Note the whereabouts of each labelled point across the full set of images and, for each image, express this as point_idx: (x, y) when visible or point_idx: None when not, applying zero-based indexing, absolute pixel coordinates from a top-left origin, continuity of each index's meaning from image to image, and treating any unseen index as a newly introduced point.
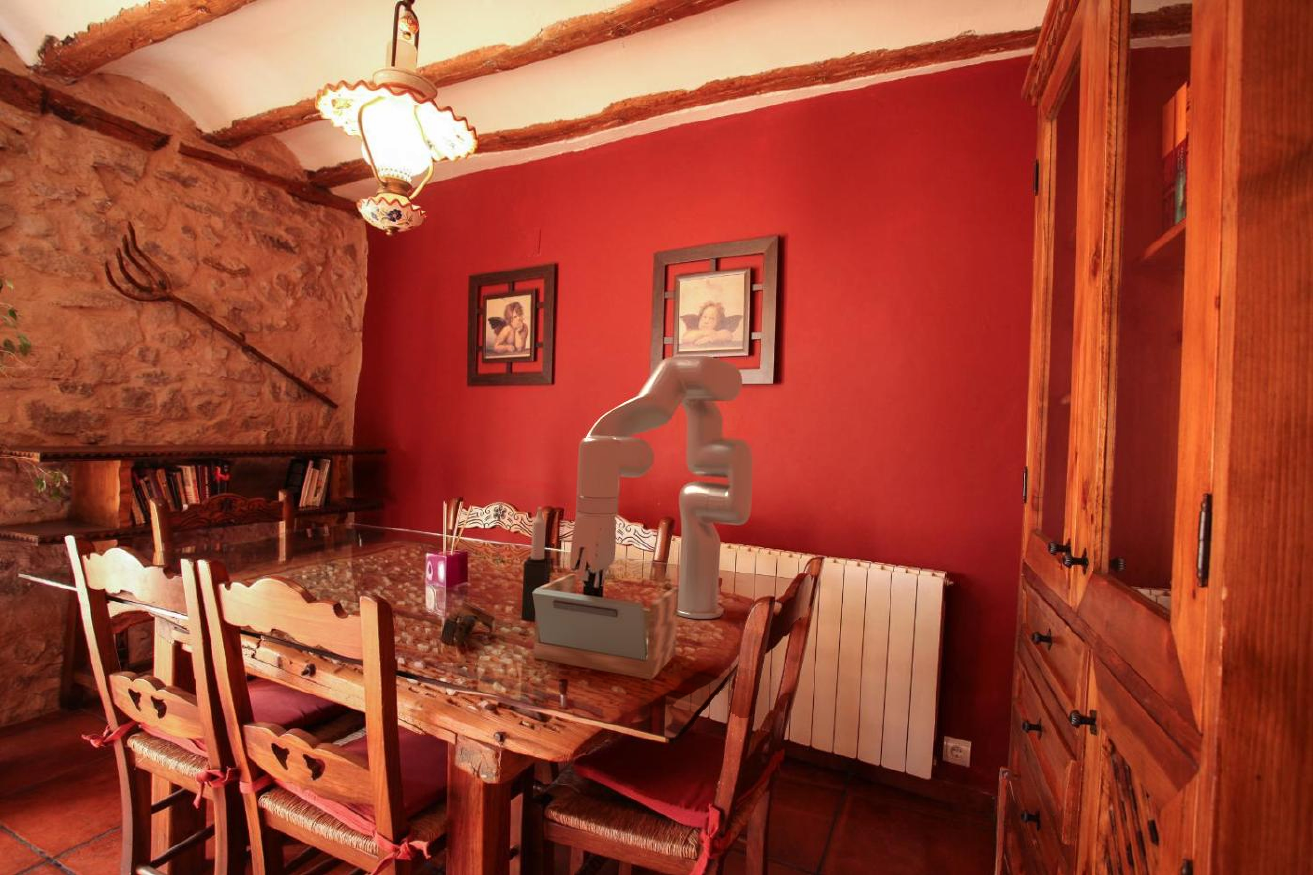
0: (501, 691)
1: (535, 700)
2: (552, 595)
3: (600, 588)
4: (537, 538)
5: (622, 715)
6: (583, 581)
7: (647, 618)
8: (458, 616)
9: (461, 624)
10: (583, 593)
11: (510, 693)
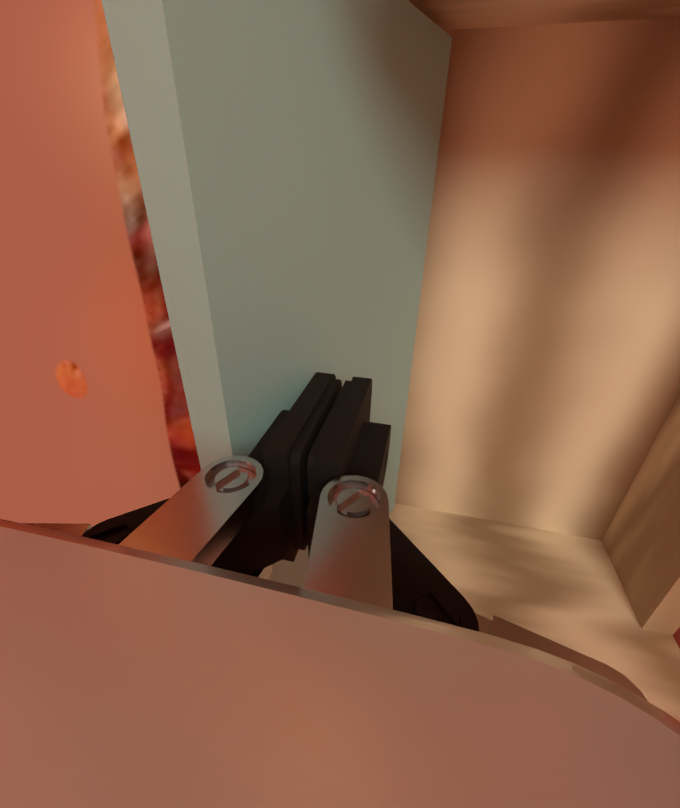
0: (113, 120)
1: (135, 257)
2: (141, 171)
3: (287, 555)
4: None
5: (192, 452)
6: (140, 511)
7: (672, 528)
8: None
9: None
10: (289, 415)
11: (122, 159)
